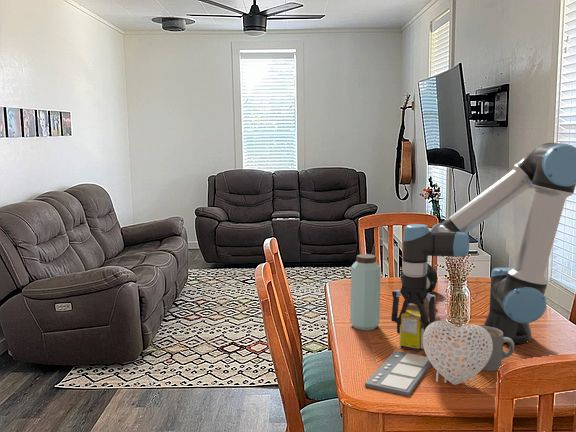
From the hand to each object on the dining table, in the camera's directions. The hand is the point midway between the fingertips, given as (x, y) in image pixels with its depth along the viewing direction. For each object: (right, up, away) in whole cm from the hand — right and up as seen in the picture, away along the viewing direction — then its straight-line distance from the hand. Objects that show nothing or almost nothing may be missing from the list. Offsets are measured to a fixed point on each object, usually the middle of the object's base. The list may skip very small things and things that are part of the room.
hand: (412, 345), depth 185 cm
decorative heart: (+6, -5, -27) cm, 28 cm away
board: (-7, -4, -20) cm, 21 cm away
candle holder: (+10, +5, +36) cm, 38 cm away
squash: (+16, +9, +61) cm, 64 cm away
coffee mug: (+20, -3, -14) cm, 24 cm away
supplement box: (0, -1, 0) cm, 1 cm away
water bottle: (-13, +2, +19) cm, 23 cm away
